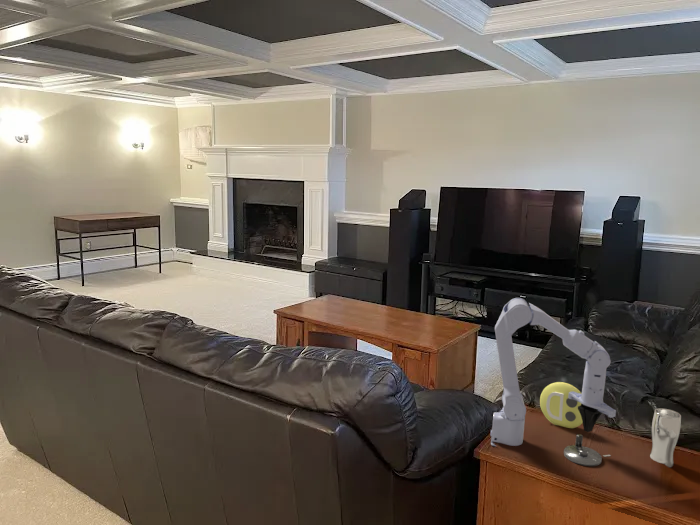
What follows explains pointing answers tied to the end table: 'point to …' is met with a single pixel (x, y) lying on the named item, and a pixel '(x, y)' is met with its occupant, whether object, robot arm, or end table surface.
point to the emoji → (561, 405)
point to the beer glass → (665, 435)
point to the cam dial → (582, 453)
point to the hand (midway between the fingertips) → (587, 430)
